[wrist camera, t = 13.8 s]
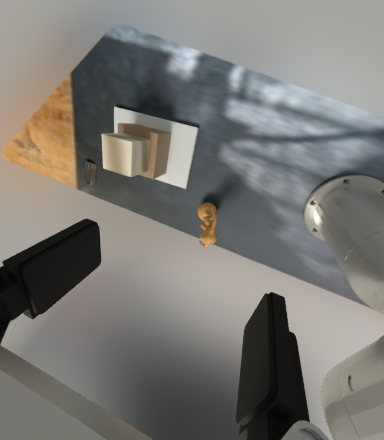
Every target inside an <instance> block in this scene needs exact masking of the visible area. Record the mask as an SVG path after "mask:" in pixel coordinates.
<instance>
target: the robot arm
mask: <svg viewBox="0 0 384 440" xmlns="http://www.w3.org/2000/svg"><path fill="white" fill-rule="evenodd" d="M345 179H346V181H345V182H343V181H344V180H345ZM382 190H383V191H382ZM381 191H382V192H381ZM311 201H313V202H311ZM303 216H304V221H305V224H306V226H307V228H308V229H309V231H310V232H311V233H312V234H313V235H314V236H316V237H317V238H319V239H321V240H323V241H326V243H327V245H328V246H329V248H330V250H331V252H332V254H333V255H334V257H335V259H336V261H337V263H338V264H339V266H340V268H341V270H342V272H343V273H344V275H345V277H346V279H347V281H348V282H349V284H350V286H351V287H352V289H353V290H354V292H355V293H356V294H357V295H358V297H359V298H360V299H361V300H362V301H364V302H365V303H366V304H367V305H369V306H370V307H372V308H373V309H375V310H377V311H379V312H380V313H382V314H384V183H383V182H381V181H380V180H378V179H375V178H373V177H369V176H365V175H346V176H341V177H337V178H335V179H332V180H329V181H327V182H326V183H324V184H322V185H321V186H319V187H318V188H317V189H316V190H315V191H314V192H313V193H312V194H311V195H310V196H309V198H308V199H307V201H306V204H305V206H304V211H303ZM314 228H315V229H314ZM100 263H101V249H100V231H99V226H98V224H97V222H94V221H92V220H89V219H84V220H82V221H80V222H78V223H76V224H74V225H72V226H70V227H68V228H66V229H65V230H62V231H60V232H59V233H57V234H55V235H53V236H51V237H49V238H47V239H45V240H43V241H41V242H39V243H37V244H35V245H34V246H32V247H30V248H28V249H26V250H24V251H22V252H20V253H18V254H16V255H14V256H12V257H10V258H9V259H6V260H4V261H3V265H4V266H2V267H0V440H152V439H151V438H149V437H148V436H146V435H145V434H143V433H141V432H140V431H138V430H137V429H135V428H133V427H132V426H130V425H129V424H127V423H125V422H124V421H122V420H121V419H119V418H117V417H116V416H114V415H113V414H111V413H109V412H108V411H106V410H105V409H103V408H101V407H100V406H98V405H96V404H95V403H93V402H92V401H90V400H88V399H87V398H85V397H84V396H82V395H80V394H79V393H77V392H76V391H74V390H72V389H71V388H69V387H67V386H66V385H64V384H62V383H61V382H59V381H58V380H56V379H55V378H53V377H51V376H50V375H48V374H46V373H45V372H43V371H42V370H40V369H38V368H37V367H35V366H33V365H32V364H30V363H29V362H27V361H25V360H23V359H22V358H20V357H18V356H17V355H15V354H14V353H12V352H11V351H9V350H7V349H6V346H7V344H8V342H9V339H10V336H11V334H12V331H13V329H14V326H15V324H16V321H17V318H18V316H19V315H21V314H22V313H24V315H26V316H28V317H29V318H31V319H34V318H35V317H37V316H38V315H39V314H43V313H44V312H46V311H47V310H48V309H49V308H50V307H51V306H53V305H54V304H55V303H56V302H57V301H59V300H60V299H61V298H62V297H63V296H64V295H66V293H68V292H69V291H70V290H71V289H73V288H74V287H75V286H76V285H77V284H79V283H80V282H81V281H82V280H83V279H84V278H86V277H87V276H88V275H89V274H90V273H91V272H93V271H94V270H95V269H96V268H97V267H98V266H99V265H100ZM321 403H322V408H323V413H324V416H325V419H326V423H327V425H328V428H329V431H330V433H331V435H332V437H333V440H384V336H382V337H380V338H379V340H377V341H375V342H374V343H372V344H370V345H369V346H367V347H365V348H364V349H362V350H360V351H359V352H357V353H355V354H354V355H352V356H350V357H349V358H347V359H346V360H344V361H343V362H341V363H339V364H338V365H337V366H335V367H334V368H333V369H331V370H330V372H329V373H328V374H327V375H326V377H325V379H324V381H323V384H322V388H321ZM236 421H237V423H238V424H240V435H241V436H243V437H244V438H246V439H247V440H329V439H328V438H327V436H326V435H325V434H324V433H323V432H322V431H321V430H320V429H319V428H318V427H316V426H315V425H314V424H312V423H310V420H309V414H308V408H307V401H306V395H305V389H304V383H303V376H302V370H301V364H300V357H299V351H298V345H297V340H296V336H295V335H294V333H292V332H290V331H289V327H288V319H287V312H286V304H285V298H284V297H282V296H280V295H278V294H275V293H273V292H270V294H265V295H264V296H263V298H262V300H261V301H260V303H259V304H258V306H257V308H256V309H255V311H254V313H253V314H252V316H251V318H250V319H249V321H248V323H247V324H246V326H245V330H244V337H243V348H242V359H241V370H240V380H239V391H238V402H237V413H236Z"/></svg>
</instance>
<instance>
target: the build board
mask: <svg viewBox="0 0 384 440" xmlns="http://www.w3.org/2000/svg"><path fill="white" fill-rule="evenodd" d="M198 130H199V128H197V127H193V126H189V125H185V124H181V123H177V122H173V121H170V120H166V119H162V118H158V117H154V116H150V115H146V114H142V113H138V112H134V111H130V110H126V109H122V108H118V107H114V133H126V134H130V135H134V136H137V137H141V138H145V139H149V140H151V141H150V154H149V167H148V171H146V172H143V173H141V174H139V175H142V176H145V177H148V178H151V179H157V180H160V181H163V182H166V183H169V184H172V185H175V186H178V187H181V188H184V189H186V188H187V185H188V180H189V175H190V170H191V165H192V160H193V155H194V150H195V145H196V140H197V135H198Z"/></svg>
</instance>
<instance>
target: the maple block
mask: <svg viewBox="0 0 384 440" xmlns="http://www.w3.org/2000/svg"><path fill="white" fill-rule="evenodd" d="M150 141H151V140H149V139H145V138H141V137H137V136H134V135H130V134H126V133H109V134H102V151H103V168H104V169H107V170H110V171H113V172H116V173H120V174H123V175H126V176H129V177H133V176H135V175H138V174H141V173H143V172H146V171H148V167H149V154H150Z"/></svg>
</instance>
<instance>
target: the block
mask: <svg viewBox="0 0 384 440" xmlns="http://www.w3.org/2000/svg"><path fill="white" fill-rule="evenodd" d="M84 178H85V181H86V182H87V183H88V184H95V183H96V164H95V163H93V162H91V161H89V160H87V159H86V164H85V175H84Z"/></svg>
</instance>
